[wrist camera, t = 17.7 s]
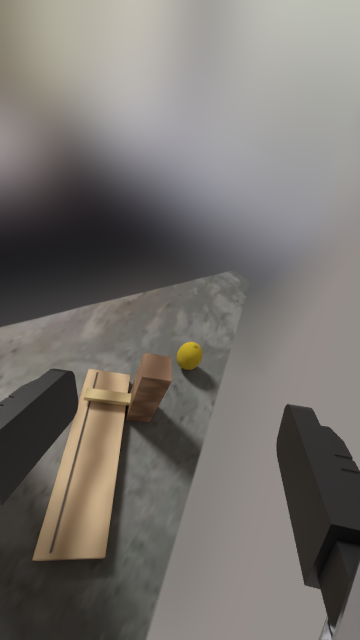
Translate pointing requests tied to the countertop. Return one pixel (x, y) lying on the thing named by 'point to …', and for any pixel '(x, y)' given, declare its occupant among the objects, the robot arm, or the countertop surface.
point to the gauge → (140, 389)
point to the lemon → (189, 356)
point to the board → (85, 478)
